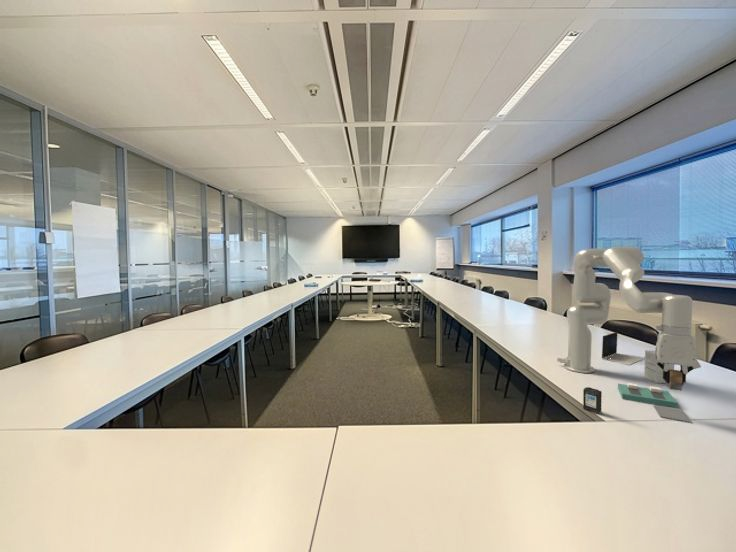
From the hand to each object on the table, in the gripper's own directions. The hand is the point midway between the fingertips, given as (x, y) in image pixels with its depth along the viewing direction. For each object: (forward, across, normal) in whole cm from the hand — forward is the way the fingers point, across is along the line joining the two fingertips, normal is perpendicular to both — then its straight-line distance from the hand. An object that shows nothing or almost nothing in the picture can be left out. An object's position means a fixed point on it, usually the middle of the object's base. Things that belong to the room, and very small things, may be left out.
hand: (673, 382), depth 115 cm
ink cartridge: (+12, -24, -11) cm, 29 cm away
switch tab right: (+9, -2, +16) cm, 19 cm away
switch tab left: (+9, -9, +16) cm, 21 cm away
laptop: (+12, -5, +69) cm, 70 cm away
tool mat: (+11, 0, 0) cm, 11 cm away
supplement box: (+11, +4, +39) cm, 41 cm away
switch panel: (+11, -5, +13) cm, 18 cm away
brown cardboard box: (+2, 0, -1) cm, 2 cm away
